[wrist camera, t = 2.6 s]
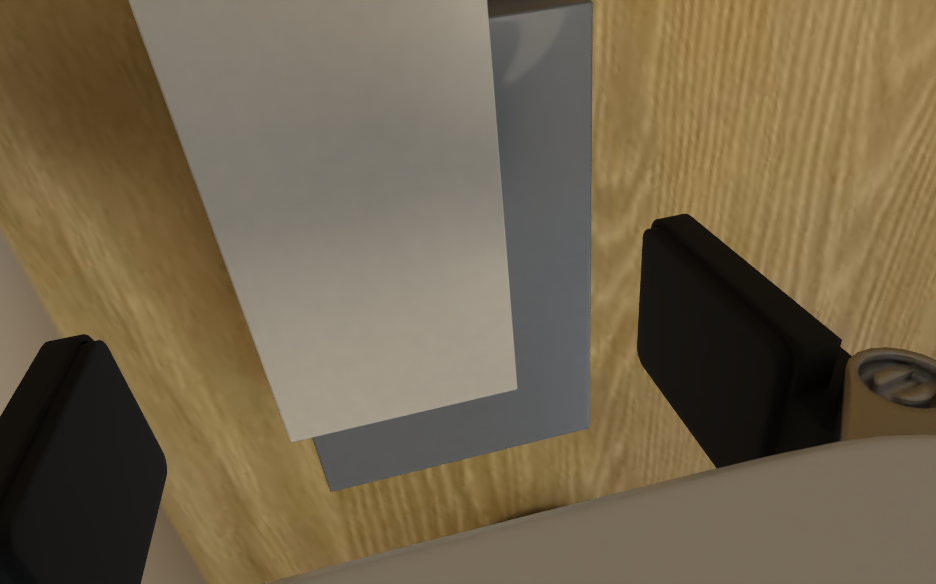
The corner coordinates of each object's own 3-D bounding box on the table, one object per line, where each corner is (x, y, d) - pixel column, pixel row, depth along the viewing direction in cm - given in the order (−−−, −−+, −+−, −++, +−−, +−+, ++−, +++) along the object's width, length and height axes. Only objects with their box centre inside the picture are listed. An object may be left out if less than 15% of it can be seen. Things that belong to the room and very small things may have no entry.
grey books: (192, 14, 17) (164, 46, 14) (539, -37, 19) (597, -19, 15) (318, 409, 26) (321, 494, 22) (553, 355, 27) (592, 428, 23)
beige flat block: (138, -59, 13) (108, -50, 11) (453, -100, 14) (480, -98, 12) (291, 387, 19) (290, 443, 17) (496, 341, 20) (518, 390, 18)
